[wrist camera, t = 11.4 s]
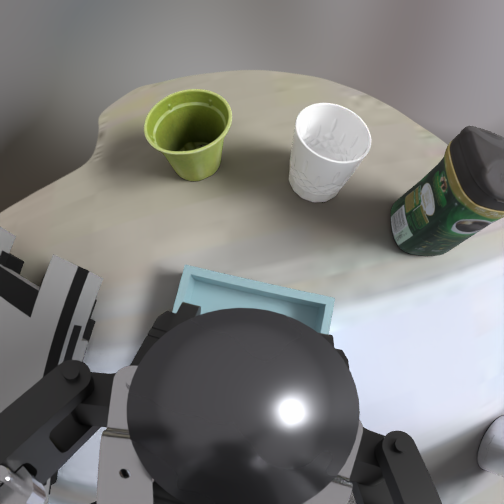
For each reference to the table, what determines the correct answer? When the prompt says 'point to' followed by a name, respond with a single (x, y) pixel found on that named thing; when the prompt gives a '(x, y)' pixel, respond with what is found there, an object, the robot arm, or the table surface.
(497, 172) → the coffee jar
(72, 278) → the game console
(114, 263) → the table surface
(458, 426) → the table surface
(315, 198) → the white cup
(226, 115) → the plant pot
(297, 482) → the bottle with dark cap
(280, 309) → the parts tray
